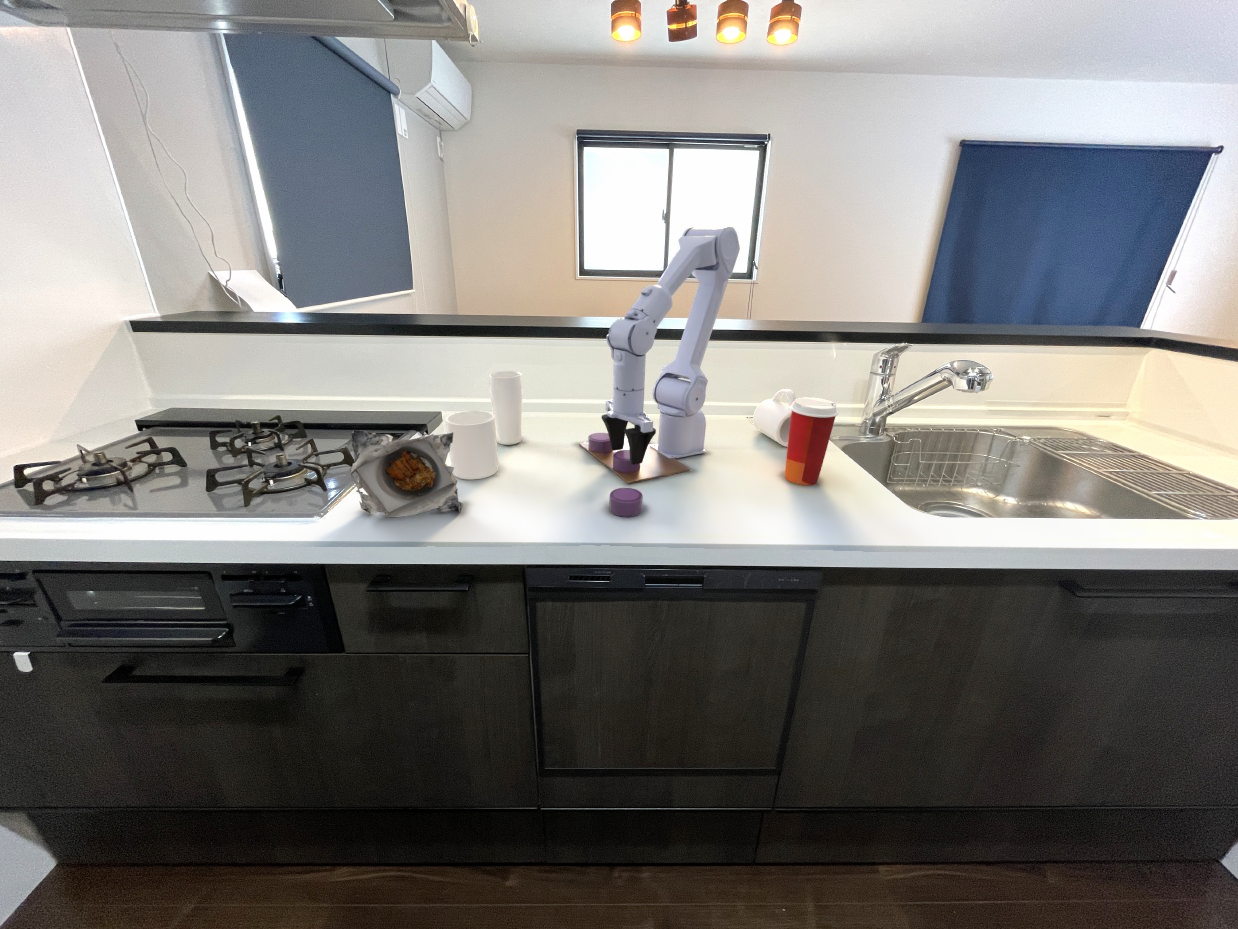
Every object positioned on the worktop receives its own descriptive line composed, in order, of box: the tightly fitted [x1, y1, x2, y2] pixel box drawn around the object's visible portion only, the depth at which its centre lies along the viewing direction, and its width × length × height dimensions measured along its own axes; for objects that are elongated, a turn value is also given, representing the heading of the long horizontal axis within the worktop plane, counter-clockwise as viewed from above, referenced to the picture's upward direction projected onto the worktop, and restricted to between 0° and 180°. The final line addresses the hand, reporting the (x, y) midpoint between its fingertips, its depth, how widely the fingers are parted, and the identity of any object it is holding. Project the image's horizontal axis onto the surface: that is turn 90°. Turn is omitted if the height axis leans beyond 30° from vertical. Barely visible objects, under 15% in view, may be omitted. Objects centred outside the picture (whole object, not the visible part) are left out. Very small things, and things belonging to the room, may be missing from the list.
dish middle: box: [613, 450, 641, 473], centre depth 95 cm, size 5×5×3 cm
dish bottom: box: [608, 487, 644, 518], centre depth 81 cm, size 5×5×3 cm
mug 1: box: [444, 409, 500, 481], centre depth 93 cm, size 9×12×11 cm
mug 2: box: [752, 388, 797, 447], centre depth 111 cm, size 8×10×12 cm
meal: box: [349, 429, 464, 519], centre depth 76 cm, size 15×4×13 cm, turn 98°
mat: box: [578, 434, 692, 485], centre depth 102 cm, size 14×22×1 cm, turn 28°
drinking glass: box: [488, 370, 524, 446], centre depth 105 cm, size 7×7×15 cm
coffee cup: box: [784, 396, 839, 486], centre depth 91 cm, size 8×8×15 cm
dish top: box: [587, 432, 613, 453], centre depth 104 cm, size 5×5×3 cm
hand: (626, 456), depth 95 cm, fingers open, 7 cm apart
